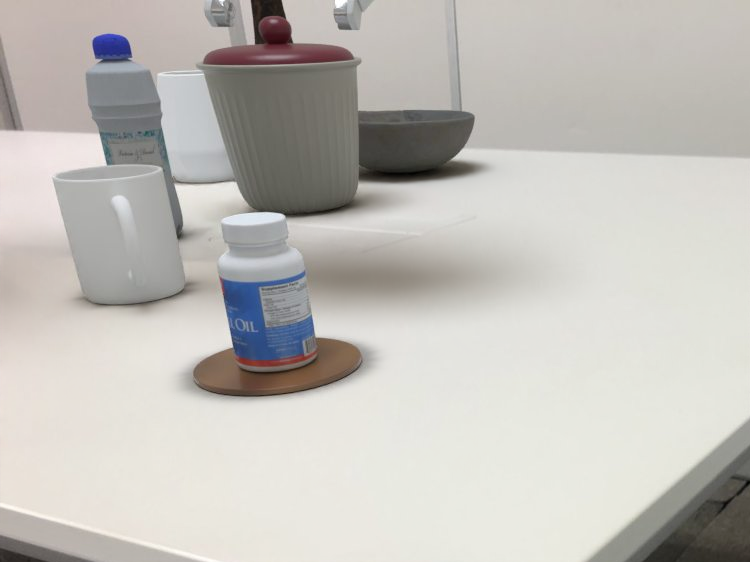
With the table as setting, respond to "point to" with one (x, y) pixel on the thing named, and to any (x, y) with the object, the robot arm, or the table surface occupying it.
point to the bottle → (128, 112)
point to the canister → (287, 120)
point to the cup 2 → (191, 129)
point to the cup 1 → (121, 232)
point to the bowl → (411, 138)
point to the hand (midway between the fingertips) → (282, 23)
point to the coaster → (234, 380)
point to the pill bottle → (265, 294)
